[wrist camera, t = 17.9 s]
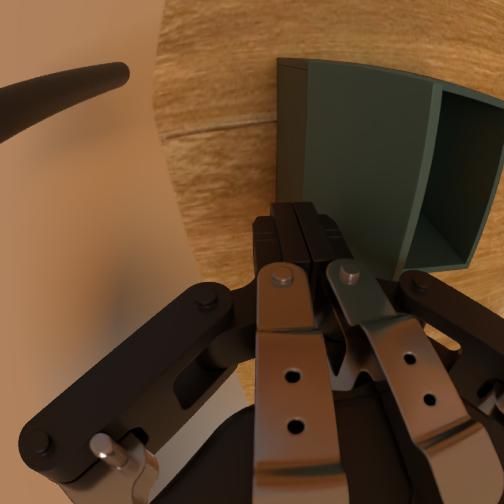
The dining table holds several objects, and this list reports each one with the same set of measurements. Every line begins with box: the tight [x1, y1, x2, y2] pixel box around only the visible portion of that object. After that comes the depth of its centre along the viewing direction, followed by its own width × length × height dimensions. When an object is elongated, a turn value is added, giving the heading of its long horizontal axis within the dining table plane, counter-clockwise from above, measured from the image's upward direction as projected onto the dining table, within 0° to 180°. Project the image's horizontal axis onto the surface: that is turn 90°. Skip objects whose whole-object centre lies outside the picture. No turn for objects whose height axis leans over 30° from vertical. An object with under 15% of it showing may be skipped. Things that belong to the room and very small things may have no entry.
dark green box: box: [276, 58, 504, 274], centre depth 18 cm, size 13×12×10 cm
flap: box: [302, 61, 443, 325], centre depth 11 cm, size 6×12×1 cm
